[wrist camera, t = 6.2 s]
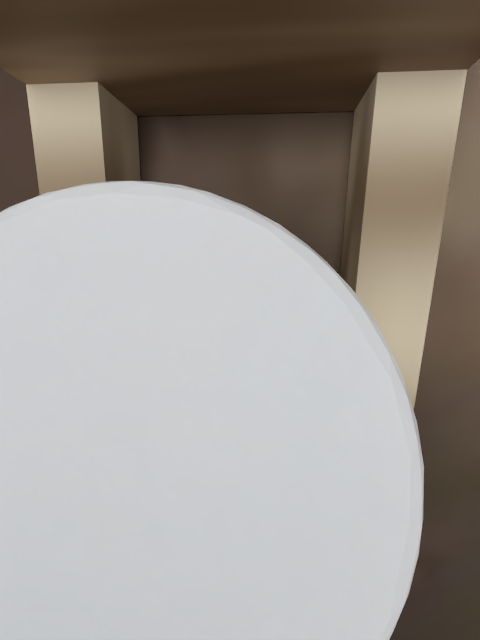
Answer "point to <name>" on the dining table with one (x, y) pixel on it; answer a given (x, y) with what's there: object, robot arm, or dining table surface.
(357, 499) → the supplement bottle
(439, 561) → the dining table surface
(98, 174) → the can dock
